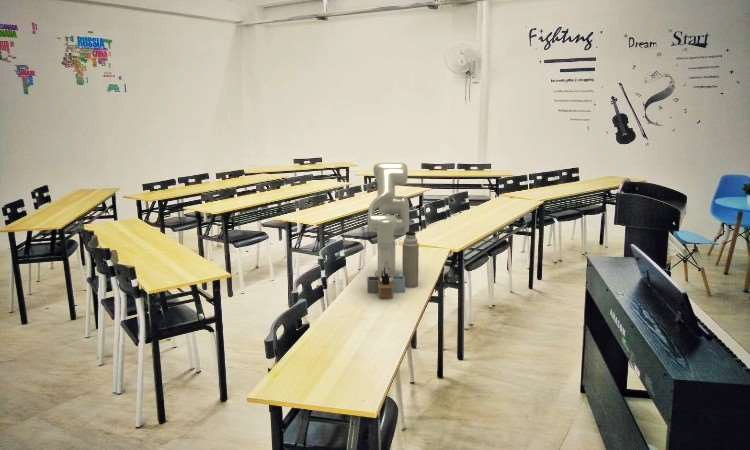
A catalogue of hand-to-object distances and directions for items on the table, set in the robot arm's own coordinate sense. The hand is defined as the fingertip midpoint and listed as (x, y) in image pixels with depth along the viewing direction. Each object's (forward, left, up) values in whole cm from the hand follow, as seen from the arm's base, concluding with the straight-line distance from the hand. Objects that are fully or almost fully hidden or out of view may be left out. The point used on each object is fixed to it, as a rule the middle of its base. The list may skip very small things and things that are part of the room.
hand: (385, 282), depth 255 cm
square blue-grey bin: (-8, +7, -8) cm, 13 cm away
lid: (0, 0, -2) cm, 2 cm away
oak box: (0, 0, -8) cm, 8 cm away
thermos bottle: (-15, +14, -8) cm, 22 cm away
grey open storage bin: (-8, -5, -8) cm, 12 cm away
